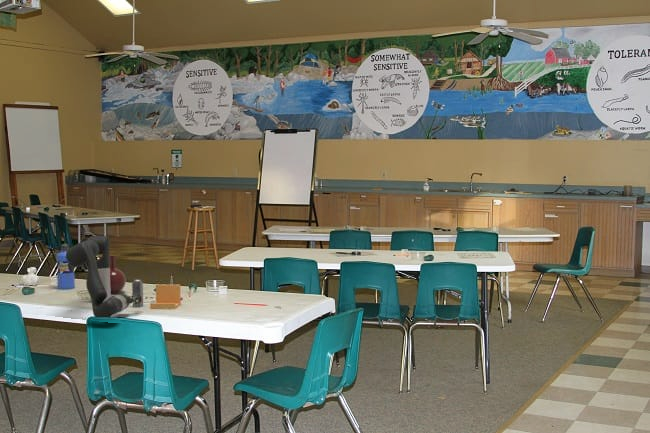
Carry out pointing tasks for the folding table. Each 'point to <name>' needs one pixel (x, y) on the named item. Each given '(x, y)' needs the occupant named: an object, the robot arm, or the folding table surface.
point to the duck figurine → (30, 277)
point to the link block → (137, 291)
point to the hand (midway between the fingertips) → (130, 296)
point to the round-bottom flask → (116, 277)
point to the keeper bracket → (167, 297)
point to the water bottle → (64, 270)
